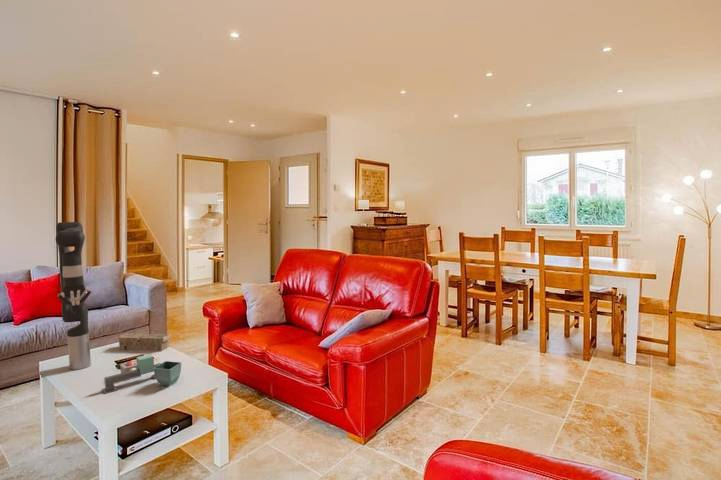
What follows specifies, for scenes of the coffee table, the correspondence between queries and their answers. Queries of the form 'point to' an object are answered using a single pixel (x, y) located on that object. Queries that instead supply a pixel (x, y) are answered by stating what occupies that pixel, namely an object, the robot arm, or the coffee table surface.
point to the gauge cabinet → (129, 369)
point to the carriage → (145, 363)
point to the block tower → (144, 342)
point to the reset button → (130, 363)
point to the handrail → (111, 379)
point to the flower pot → (167, 372)
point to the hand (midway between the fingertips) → (75, 312)
